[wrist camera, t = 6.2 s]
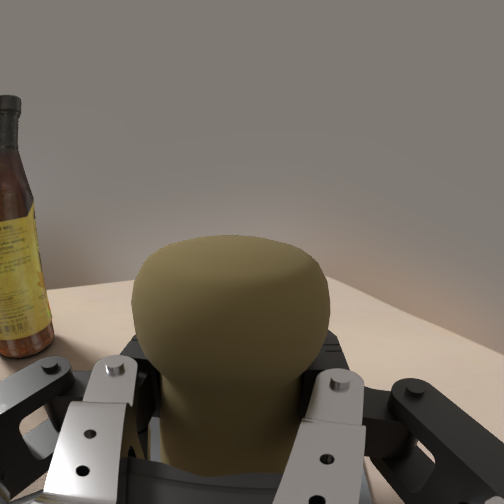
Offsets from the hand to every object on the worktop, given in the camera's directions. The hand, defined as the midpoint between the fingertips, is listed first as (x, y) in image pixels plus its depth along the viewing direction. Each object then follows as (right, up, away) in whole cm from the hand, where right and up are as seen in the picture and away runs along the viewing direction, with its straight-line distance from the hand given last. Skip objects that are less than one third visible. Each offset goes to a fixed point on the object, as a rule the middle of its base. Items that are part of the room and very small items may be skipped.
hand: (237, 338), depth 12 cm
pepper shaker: (0, -7, -1) cm, 8 cm away
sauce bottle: (-19, -5, +10) cm, 22 cm away
